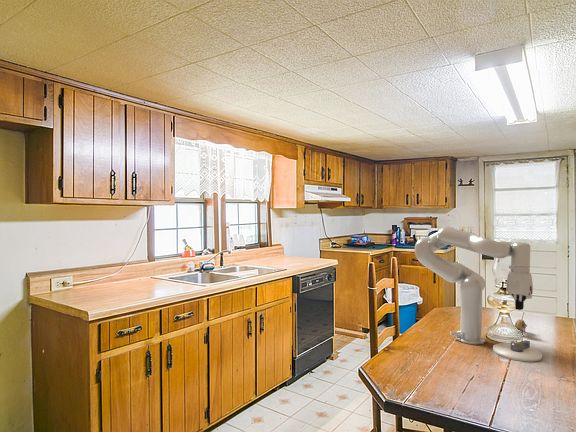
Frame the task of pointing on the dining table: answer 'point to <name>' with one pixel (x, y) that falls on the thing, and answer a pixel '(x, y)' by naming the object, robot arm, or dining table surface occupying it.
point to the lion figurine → (521, 326)
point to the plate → (517, 353)
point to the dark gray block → (520, 345)
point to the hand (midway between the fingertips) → (519, 309)
